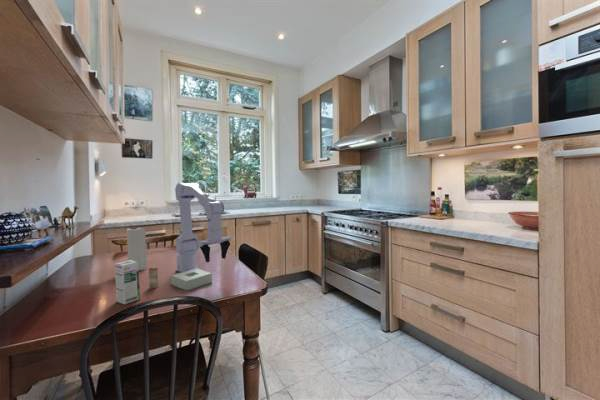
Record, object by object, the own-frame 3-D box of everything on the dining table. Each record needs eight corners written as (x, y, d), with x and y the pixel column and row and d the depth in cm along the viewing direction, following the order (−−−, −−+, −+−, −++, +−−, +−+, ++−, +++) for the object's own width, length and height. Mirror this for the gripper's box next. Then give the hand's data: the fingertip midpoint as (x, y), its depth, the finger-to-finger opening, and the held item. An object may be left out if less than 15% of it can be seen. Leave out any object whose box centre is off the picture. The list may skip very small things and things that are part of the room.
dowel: (148, 287, 115) (147, 268, 114) (156, 285, 117) (155, 266, 117) (151, 289, 113) (150, 270, 112) (159, 286, 115) (158, 268, 115)
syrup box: (124, 305, 98) (122, 265, 97) (116, 301, 101) (114, 262, 100) (140, 299, 103) (138, 261, 102) (132, 296, 106) (130, 259, 105)
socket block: (171, 284, 118) (171, 275, 118) (196, 276, 128) (196, 268, 127) (186, 290, 111) (186, 280, 111) (212, 282, 120) (211, 273, 120)
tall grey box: (125, 271, 137) (123, 229, 136) (135, 267, 143) (133, 227, 142) (137, 272, 136) (135, 229, 134) (147, 268, 141) (145, 227, 140)
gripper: (203, 232, 111) (204, 265, 111) (234, 228, 121) (235, 258, 122) (195, 230, 115) (196, 262, 116) (226, 226, 126) (226, 255, 127)
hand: (215, 260), depth 119 cm, fingers open, 7 cm apart
